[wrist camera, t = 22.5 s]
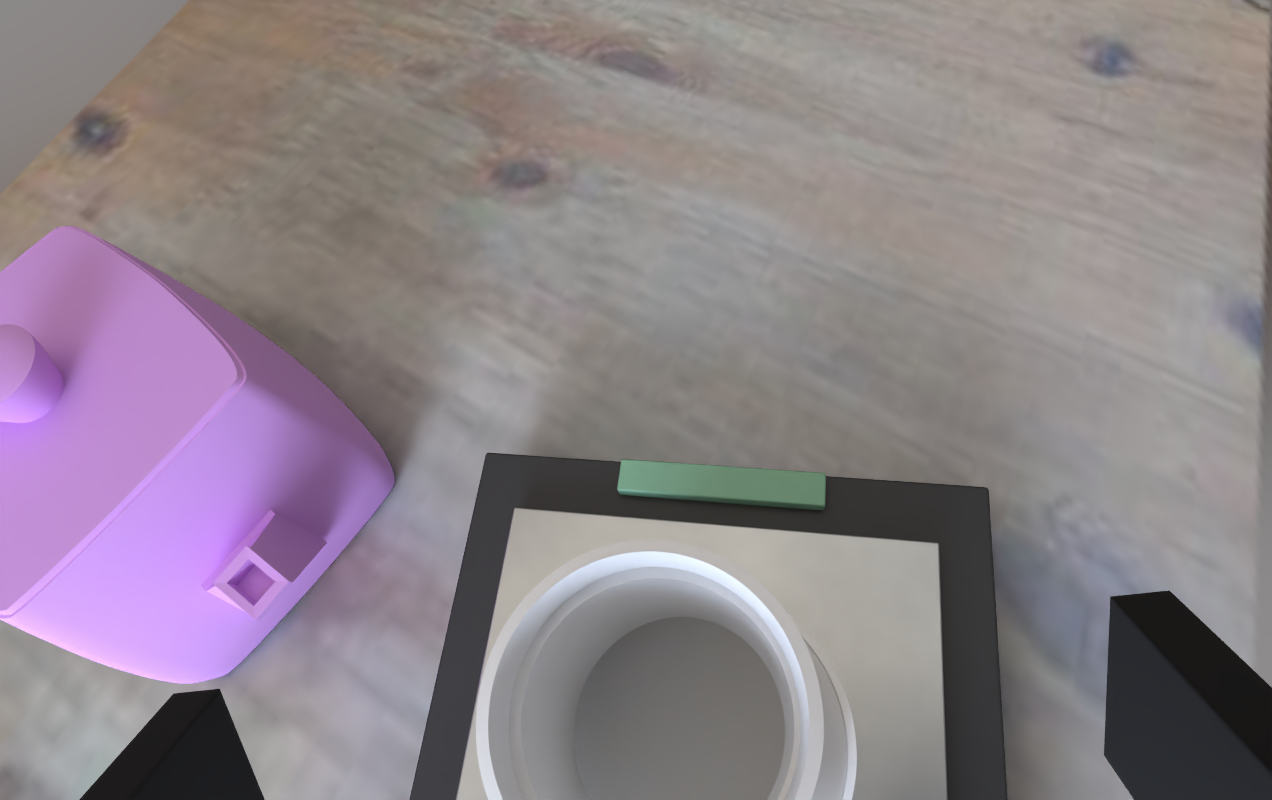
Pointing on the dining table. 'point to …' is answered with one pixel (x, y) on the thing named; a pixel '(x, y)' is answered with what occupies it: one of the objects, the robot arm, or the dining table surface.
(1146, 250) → the dining table surface
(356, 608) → the dining table surface
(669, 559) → the vase
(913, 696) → the scale
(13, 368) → the teapot
